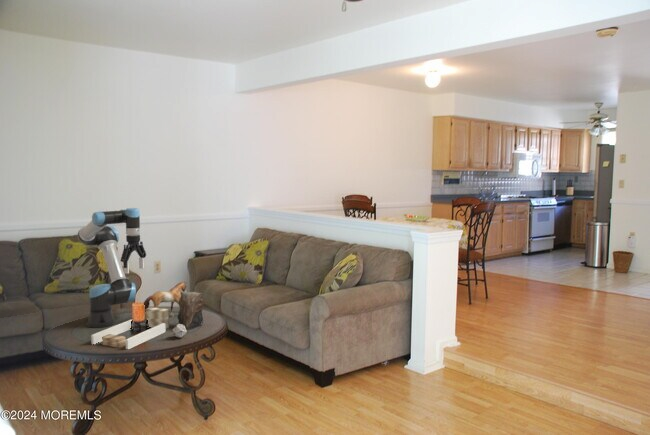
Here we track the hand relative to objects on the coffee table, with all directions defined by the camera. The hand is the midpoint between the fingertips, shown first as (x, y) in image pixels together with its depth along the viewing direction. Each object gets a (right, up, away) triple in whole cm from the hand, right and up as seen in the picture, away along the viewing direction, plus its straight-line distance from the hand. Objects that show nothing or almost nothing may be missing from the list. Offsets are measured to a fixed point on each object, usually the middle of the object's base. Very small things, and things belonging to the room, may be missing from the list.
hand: (134, 270), depth 315 cm
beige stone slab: (+13, -33, +2) cm, 36 cm away
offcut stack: (0, -37, -28) cm, 46 cm away
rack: (+4, -35, -18) cm, 40 cm away
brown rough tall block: (+32, -33, +2) cm, 46 cm away
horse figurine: (+10, -31, +23) cm, 40 cm away
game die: (+32, -35, -18) cm, 51 cm away
